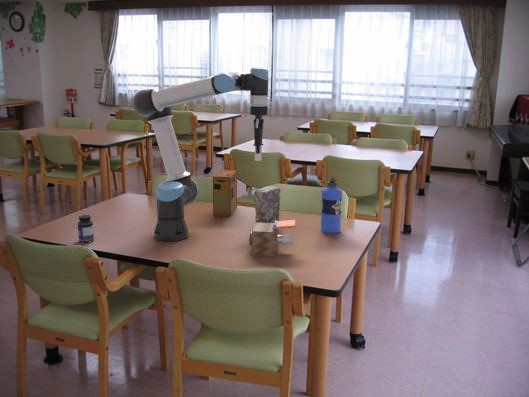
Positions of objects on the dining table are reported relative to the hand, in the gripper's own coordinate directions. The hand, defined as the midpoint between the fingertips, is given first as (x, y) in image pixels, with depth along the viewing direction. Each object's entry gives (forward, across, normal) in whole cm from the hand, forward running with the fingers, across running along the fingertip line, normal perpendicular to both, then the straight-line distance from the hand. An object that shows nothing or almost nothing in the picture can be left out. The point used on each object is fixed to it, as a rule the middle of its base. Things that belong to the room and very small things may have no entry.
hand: (258, 160), depth 232 cm
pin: (+31, -21, -9) cm, 39 cm away
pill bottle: (+35, -20, +71) cm, 81 cm away
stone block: (+34, +6, -4) cm, 34 cm away
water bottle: (+33, +9, -33) cm, 48 cm away
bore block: (+33, -21, -6) cm, 40 cm away
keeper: (+23, -21, -14) cm, 34 cm away
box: (+34, +35, +21) cm, 53 cm away
